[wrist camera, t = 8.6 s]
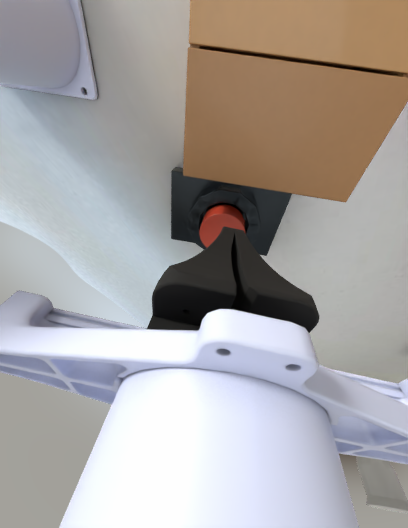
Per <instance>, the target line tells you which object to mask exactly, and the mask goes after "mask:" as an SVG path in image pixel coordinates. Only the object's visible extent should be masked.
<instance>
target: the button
mask: <svg viewBox="0 0 408 528" xmlns="http://www.w3.org/2000/svg"><path fill="white" fill-rule="evenodd" d="M224 226H225V227H230V228H235V229H240V230H243V231H244V232H245V221H244V217H243V215H242V214H241V213H240V211H239V210H237V209H236V208H234V207H232V206H229V205H217V206H214V207H212V208H211V209H209V210H208V211H207V212H206V214H205V215H204V217H203V220H202V223H201V226H200V230H199V234H200V239H201V241H202V243H203V244H204V245H205V246H206V247H208V246H209V245H210V244H211V243H212V242H213V241H214V240H215V239H216V238H217V237H218V235H219V234H220V232H221V230H222V228H223V227H224Z"/></svg>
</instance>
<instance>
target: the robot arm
mask: <svg viewBox="0 0 408 528" xmlns="http://www.w3.org/2000/svg"><path fill="white" fill-rule="evenodd" d="M0 86H4V87H11V88H18V89H24V90H31V91H37V92H44V93H50V94H57V95H64V96H70V97H77V98H83V99H90V100H96V99H97V97H98V93H97V88H96V82H95V77H94V71H93V66H92V61H91V55H90V50H89V44H88V39H87V33H86V28H85V23H84V17H83V12H82V6H81V1H80V0H0ZM84 88H85V89H86V90H87V95H86V94H85V92H84ZM152 308H153V316H152V318H151V320H150V323H149V325H148V328H142V327H138V326H133V325H128V324H124V323H119V322H115V321H110V320H106V319H101V318H97V317H92V316H87V315H83V314H78V313H74V312H69V311H64V310H60V309H56V308H53V305H52V303H51V301H50V300H49V299H48V298H46V297H44V296H42V295H38V294H33V293H29V292H24V291H17V292H16V293H14V294H13V295H12V296H11V297H10V298H8V299H7V300H6V301H5V302H4V303H2V304H1V305H0V372H1V373H5V374H9V375H13V376H18V377H21V378H25V379H28V380H32V381H36V382H39V383H43V384H46V385H50V386H53V387H56V388H59V389H63V390H66V391H69V392H72V393H76V394H79V395H82V396H86V397H88V398H92V399H95V400H98V401H102V402H105V403H108V404H111V405H112V406H111V408H110V410H109V413H108V415H107V418H106V420H105V422H104V424H103V427H102V429H101V431H100V434H99V436H98V439H97V441H96V443H95V445H94V448H93V450H92V453H91V455H90V457H89V459H88V462H87V464H86V466H85V469H84V471H83V473H82V475H81V478H80V480H79V483H78V485H77V487H76V489H75V492H74V494H73V496H72V499H71V501H70V504H69V506H68V508H67V510H66V513H65V515H64V517H63V520H62V523H61V524H60V527H59V528H359V526H358V522H357V518H356V515H355V511H354V508H353V504H352V500H351V497H350V494H349V490H348V486H347V482H346V479H345V475H344V472H343V468H342V465H341V461H340V457H339V454H338V453H341V454H347V455H354V456H360V457H367V458H373V459H379V460H385V461H391V462H397V463H402V464H408V379H405V380H403V381H401V382H399V384H397V383H392V382H388V381H383V380H379V379H374V378H370V377H365V376H360V375H356V374H351V373H347V372H342V371H338V370H333V369H329V368H326V367H324V366H322V365H320V364H319V363H318V360H317V356H316V353H315V350H314V346H313V343H312V340H311V336H310V334H309V332H310V331H311V330H312V329H313V328H314V327H315V326H316V325H317V323H318V321H319V314H318V311H317V308H316V305H315V303H314V300H313V298H312V296H311V295H309V294H307V293H306V292H304V291H302V290H301V289H299V288H297V287H296V286H294V285H293V284H291V283H290V282H288V281H287V280H285V279H284V278H283V277H281V276H280V275H279V274H278V273H277V272H275V271H274V270H273V269H272V268H271V267H270V266H269V265H268V264H267V263H266V262H265V261H264V260H263V259H262V258H261V256H260V255H259V254H258V253H257V251H256V250H255V249H254V247H253V246H252V244H251V243H250V241H249V239H248V238H247V236H246V234H245V232H244V231H243V230H240V229H235V228H230V227H225V226H224V227H223V228H222V230H221V232H220V234H219V235H218V237H217V238H216V239H215V240H214V241H213V242H212V243H211V244H210V245H209V246H208V247H207V248H206V249H205V250H203V251H202V252H201V253H199V254H198V255H196V256H195V257H193V258H191V259H189V260H187V261H184V262H182V263H178V264H175V265H172V266H169V268H168V269H167V270H166V271H165V272H164V274H163V275H162V277H161V278H160V280H159V281H158V283H157V285H156V287H155V289H154V292H153V296H152Z"/></svg>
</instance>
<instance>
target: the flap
mask: <svg viewBox="0 0 408 528" xmlns="http://www.w3.org/2000/svg"><path fill="white" fill-rule="evenodd" d="M189 43H190V44H191V45H197V46H204V47H211V48H219V49H226V50H233V51H240V52H248V53H255V54H262V55H269V56H277V57H284V58H291V59H298V60H306V61H313V62H320V63H327V64H335V65H342V66H349V67H356V68H364V69H371V70H378V71H385V72H393V73H400V74H407V75H408V0H190V25H189Z"/></svg>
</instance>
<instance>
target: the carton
mask: <svg viewBox="0 0 408 528" xmlns="http://www.w3.org/2000/svg"><path fill="white" fill-rule="evenodd" d="M407 102H408V75H407V74H400V73H393V72H385V71H378V70H371V69H364V68H356V67H349V66H342V65H335V64H327V63H320V62H313V61H306V60H298V59H291V58H284V57H277V56H269V55H262V54H255V53H248V52H240V51H233V50H226V49H219V48H211V47H204V46H197V45H191V44H190V48H188V61H187V87H186V112H185V137H184V162H183V176H189V177H195V178H201V179H207V180H213V181H219V182H225V183H231V184H237V185H244V186H250V187H256V188H262V189H268V190H274V191H280V192H286V193H292V194H298V195H304V196H310V197H316V198H322V199H328V200H334V201H340V202H346V201H347V199H348V198H349V196H350V195H351V193H352V191H353V190H354V188H355V186H356V185H357V183H358V182H359V180H360V178H361V177H362V175H363V173H364V172H365V170H366V168H367V167H368V165H369V164H370V162H371V160H372V159H373V157H374V155H375V154H376V152H377V151H378V149H379V147H380V146H381V144H382V142H383V141H384V139H385V137H386V136H387V134H388V133H389V131H390V129H391V128H392V126H393V124H394V123H395V121H396V119H397V118H398V116H399V115H400V113H401V111H402V110H403V108H404V106H405V105H406V103H407Z"/></svg>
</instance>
